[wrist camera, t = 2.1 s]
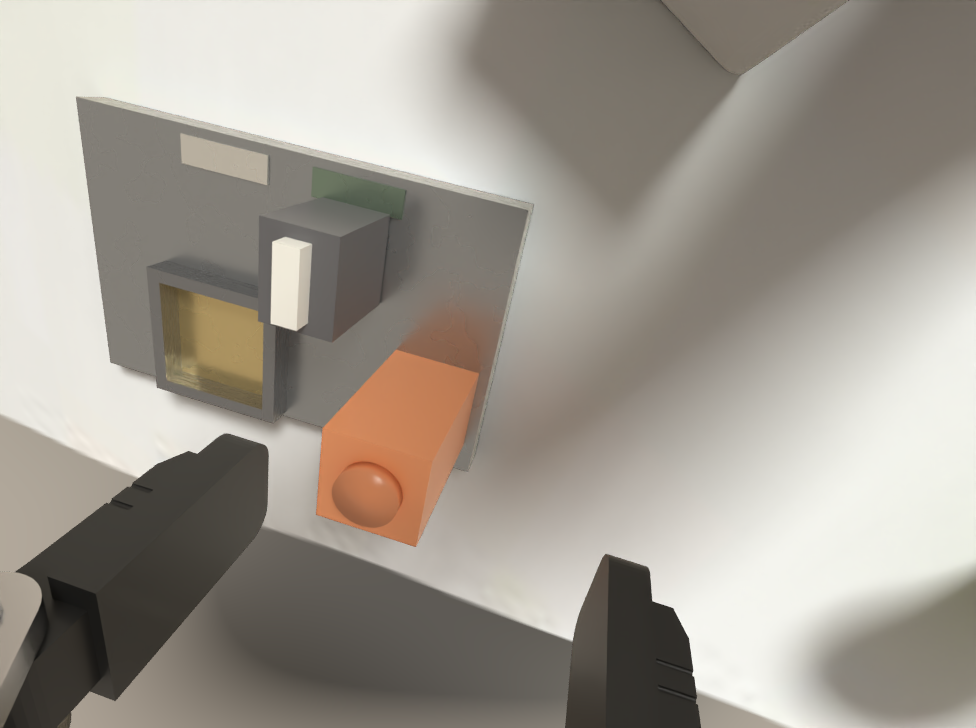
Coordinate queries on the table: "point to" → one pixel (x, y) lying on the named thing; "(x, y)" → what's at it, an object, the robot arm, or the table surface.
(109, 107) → the panel
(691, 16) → the electrical switch
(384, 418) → the cap
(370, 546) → the table surface
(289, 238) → the breaker slider
